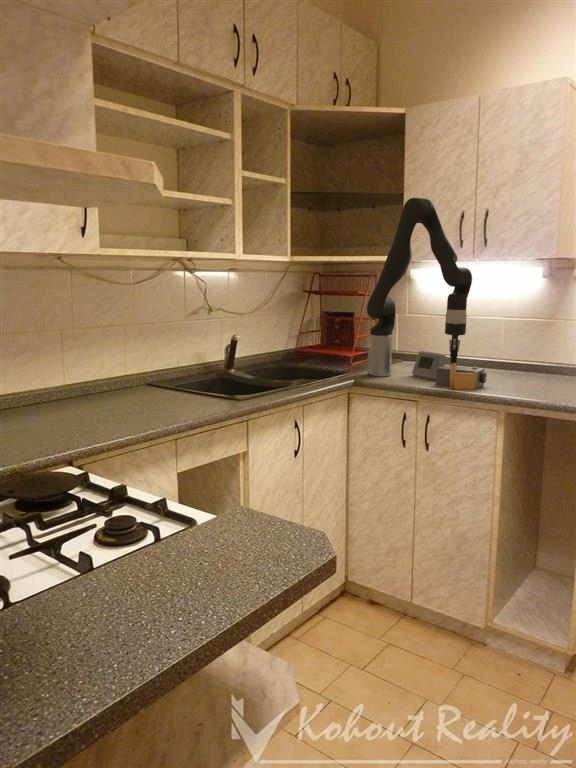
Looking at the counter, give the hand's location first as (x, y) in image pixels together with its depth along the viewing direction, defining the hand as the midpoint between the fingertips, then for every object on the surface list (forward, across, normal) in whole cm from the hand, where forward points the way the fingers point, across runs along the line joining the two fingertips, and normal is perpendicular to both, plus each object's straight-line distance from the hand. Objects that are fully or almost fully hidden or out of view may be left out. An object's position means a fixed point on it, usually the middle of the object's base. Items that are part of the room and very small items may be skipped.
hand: (453, 367), depth 228 cm
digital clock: (+8, -20, -10) cm, 24 cm away
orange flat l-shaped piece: (+8, +2, +4) cm, 9 cm away
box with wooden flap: (+8, -6, +3) cm, 10 cm away
